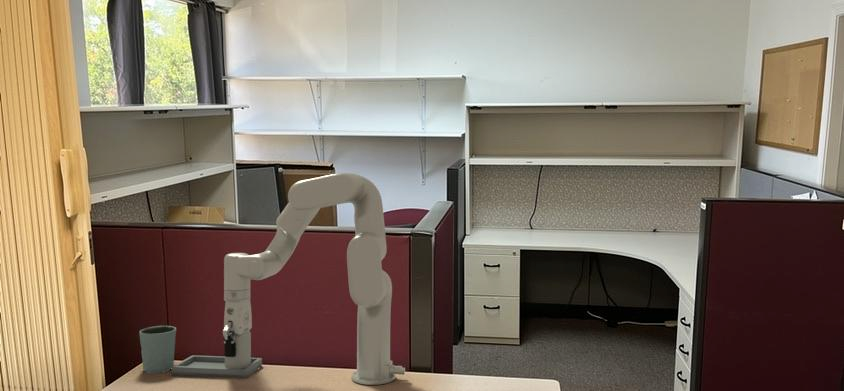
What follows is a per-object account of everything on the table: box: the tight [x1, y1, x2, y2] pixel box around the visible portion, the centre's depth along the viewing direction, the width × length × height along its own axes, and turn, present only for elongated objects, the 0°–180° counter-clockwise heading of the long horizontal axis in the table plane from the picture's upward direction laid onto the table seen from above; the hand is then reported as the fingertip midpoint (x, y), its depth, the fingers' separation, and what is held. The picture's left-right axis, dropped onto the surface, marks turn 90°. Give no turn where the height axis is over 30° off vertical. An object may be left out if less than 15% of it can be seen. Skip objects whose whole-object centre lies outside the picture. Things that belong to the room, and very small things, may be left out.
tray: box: [171, 355, 263, 380], centre depth 185 cm, size 22×12×2 cm, turn 83°
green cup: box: [138, 325, 177, 374], centre depth 186 cm, size 10×10×12 cm
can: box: [224, 328, 252, 369], centre depth 184 cm, size 8×8×12 cm
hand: (237, 352), depth 184 cm, fingers open, 9 cm apart
